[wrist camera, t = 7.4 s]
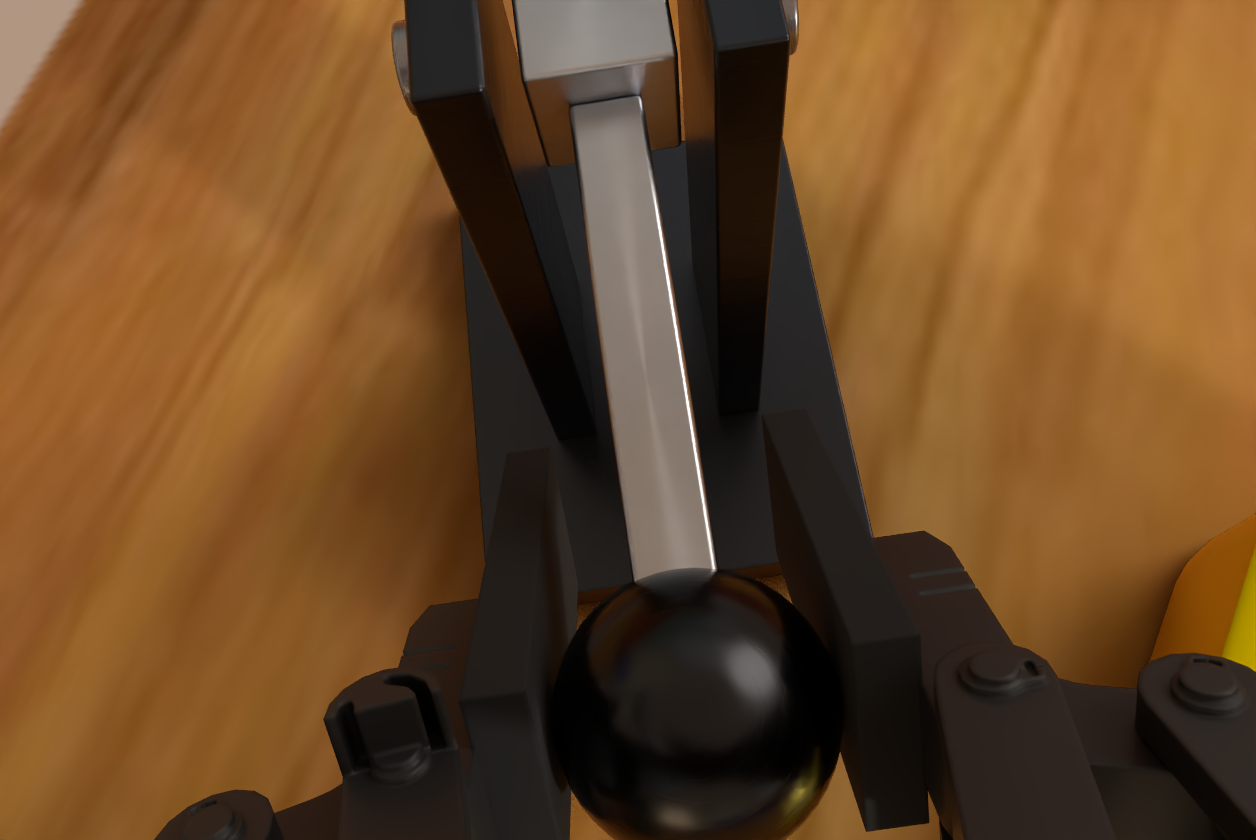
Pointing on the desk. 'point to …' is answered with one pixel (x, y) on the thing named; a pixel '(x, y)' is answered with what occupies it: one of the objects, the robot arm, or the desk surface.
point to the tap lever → (663, 493)
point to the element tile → (1215, 600)
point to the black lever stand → (699, 261)
